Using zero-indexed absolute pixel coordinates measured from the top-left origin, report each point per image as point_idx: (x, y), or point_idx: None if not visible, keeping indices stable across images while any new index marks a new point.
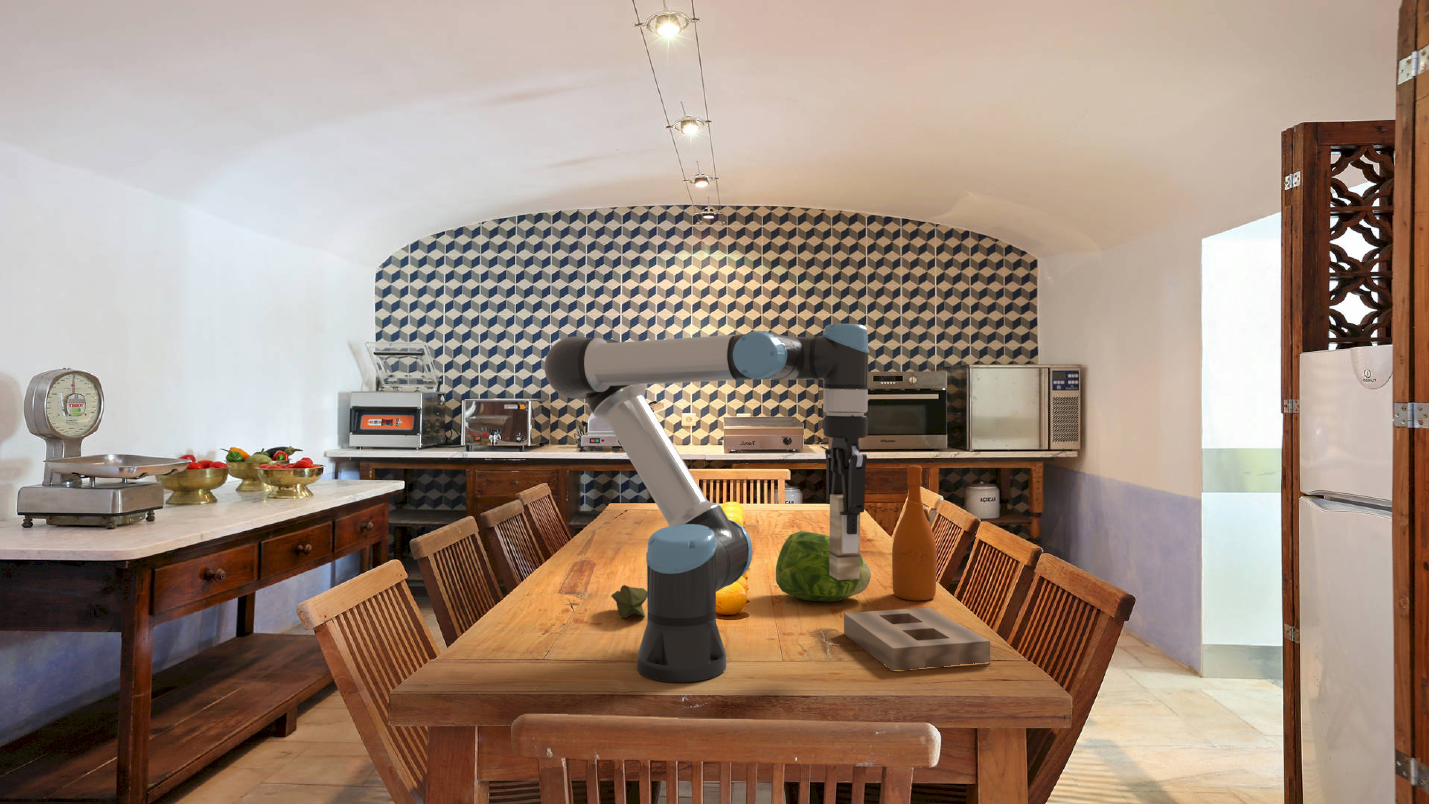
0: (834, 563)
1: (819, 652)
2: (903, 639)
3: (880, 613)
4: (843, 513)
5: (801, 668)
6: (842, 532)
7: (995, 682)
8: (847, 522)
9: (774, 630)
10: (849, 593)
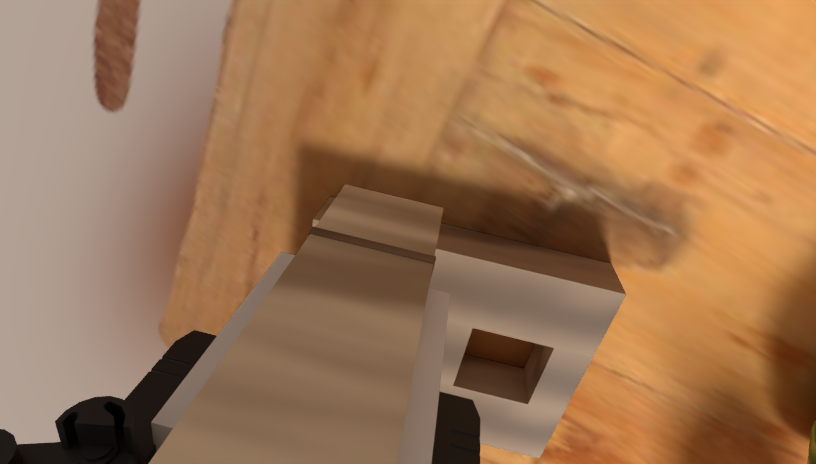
0: (368, 221)
1: (522, 127)
2: None
3: (564, 359)
4: (74, 414)
5: (436, 9)
6: (237, 325)
7: (229, 313)
8: (173, 392)
9: (773, 117)
10: (811, 429)
